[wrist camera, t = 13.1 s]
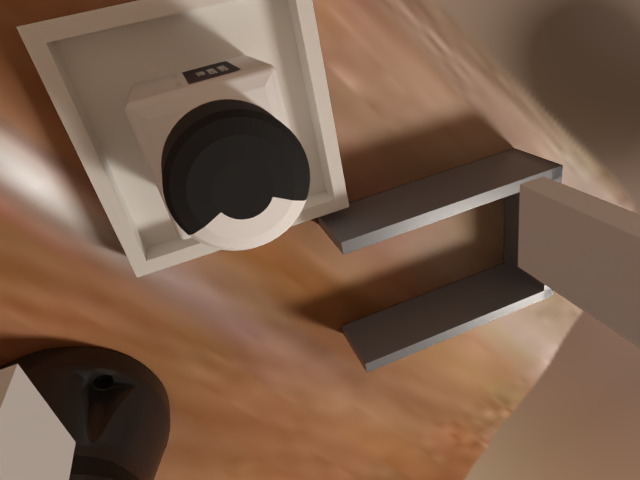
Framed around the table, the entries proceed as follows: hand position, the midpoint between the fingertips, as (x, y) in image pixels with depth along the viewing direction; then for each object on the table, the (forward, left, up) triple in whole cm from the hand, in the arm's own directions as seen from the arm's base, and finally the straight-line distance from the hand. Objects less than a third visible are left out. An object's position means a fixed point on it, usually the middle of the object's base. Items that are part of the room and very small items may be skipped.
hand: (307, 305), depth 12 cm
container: (0, 0, -22) cm, 22 cm away
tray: (0, 0, -23) cm, 23 cm away
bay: (+15, -15, -23) cm, 31 cm away
